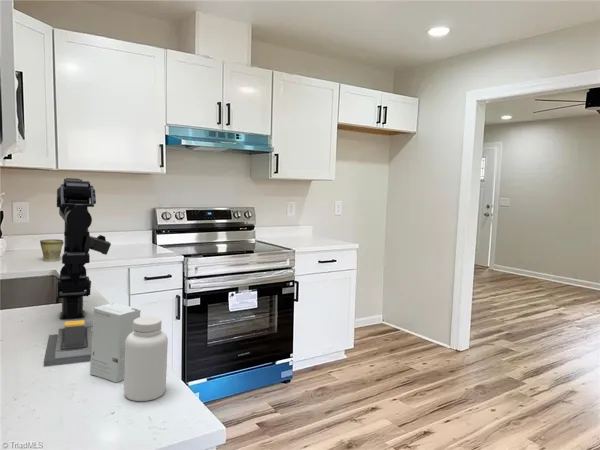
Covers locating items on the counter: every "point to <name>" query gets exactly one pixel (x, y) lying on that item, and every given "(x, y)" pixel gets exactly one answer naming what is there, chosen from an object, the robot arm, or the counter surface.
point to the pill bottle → (145, 360)
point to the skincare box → (111, 339)
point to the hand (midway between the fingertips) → (75, 284)
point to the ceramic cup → (51, 249)
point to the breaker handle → (74, 335)
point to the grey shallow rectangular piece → (69, 356)
